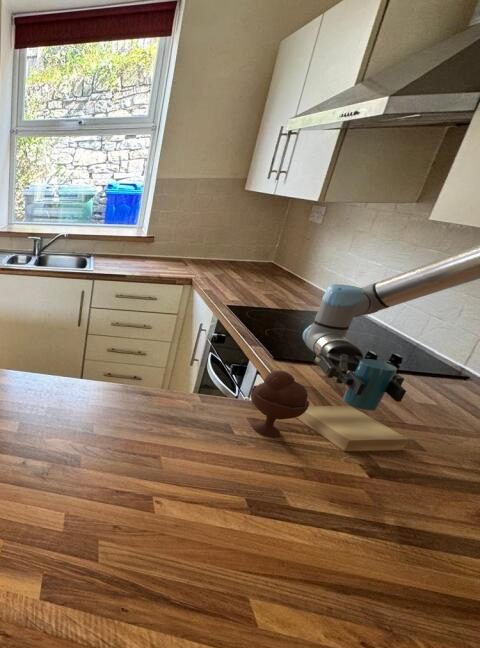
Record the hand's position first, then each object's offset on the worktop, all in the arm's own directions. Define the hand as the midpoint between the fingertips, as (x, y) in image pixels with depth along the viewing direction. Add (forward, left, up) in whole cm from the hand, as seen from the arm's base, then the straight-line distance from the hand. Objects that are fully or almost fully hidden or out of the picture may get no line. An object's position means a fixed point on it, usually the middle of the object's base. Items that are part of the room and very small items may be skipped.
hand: (380, 392), depth 86 cm
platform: (+5, -2, -14) cm, 14 cm away
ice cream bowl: (+6, +17, -14) cm, 22 cm away
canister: (+5, -2, -6) cm, 8 cm away
